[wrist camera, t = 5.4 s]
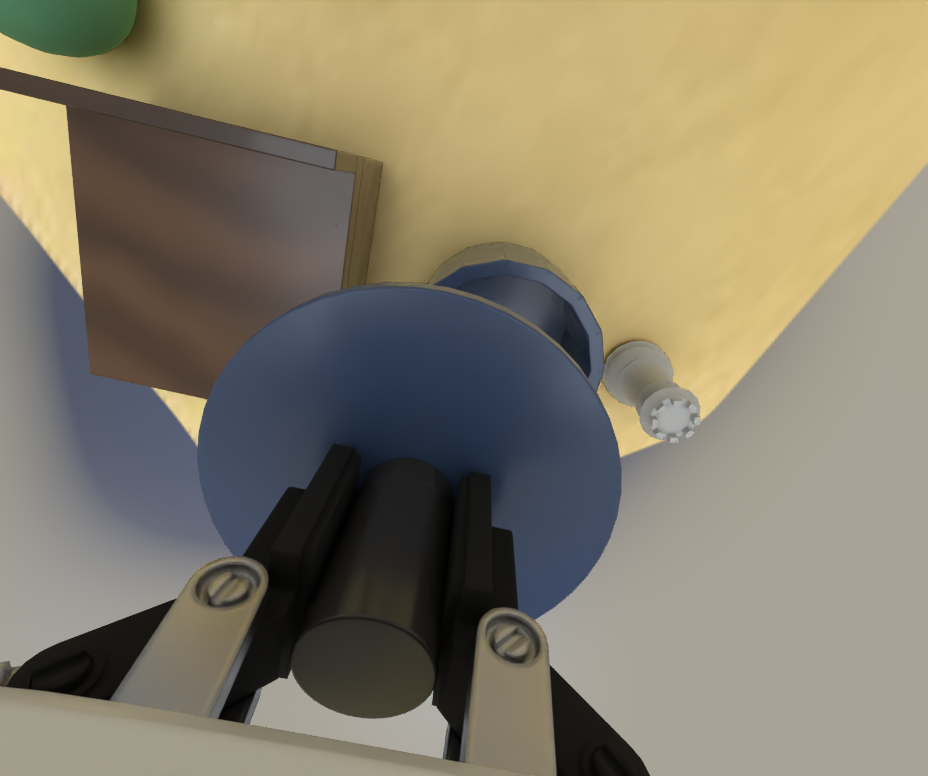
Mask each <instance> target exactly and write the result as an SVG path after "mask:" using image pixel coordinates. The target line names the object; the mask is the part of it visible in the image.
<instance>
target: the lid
mask: <svg viewBox="0 0 928 776" xmlns="http://www.w3.org/2000/svg"><path fill="white" fill-rule="evenodd" d="M333 444H340V445H345V446H350V447H354V448H355V453H356V454H361V455H362V459H361V466H360V473H359V480H358V487H357V494H356V496H355V499H354V501H353V503H352V506H351V508H350V510H349V513H348V515H347V517H346V520H345V522H344V524H343V527H342V529H341V532H340V534H339V536H338V539H337V541H336V543H335V546H334V548H333V550H332V553H331V555H330V558H329V560H328V562H327V565H326V567H325V569H324V572H323V574H322V576H321V579H320V581H319V583H318V586H317V588H316V591H315V593H314V595H313V598H312V600H311V602H310V605H309V607H308V609H307V612H306V614H305V616H304V619H303V621H302V624H301V626H300V628H299V631H298V633H297V635H296V638H295V640H294V643H293V645H292V647H291V653H290V665H291V670H292V673H293V676H294V678H295V679H296V681H297V683H298V684H299V686H300V687H301V688H302V689H303V690H304V692H305V693H306V694H307V695H308V696H310V697H311V698H312V699H313V700H315V701H316V702H318V703H320V704H321V705H323V706H325V707H327V708H329V709H331V710H333V711H336V712H339V713H341V714H345V715H349V716H353V717H360V718H373V719H376V718H388V717H394V716H398V715H401V714H404V713H407V712H409V711H411V710H413V709H415V708H416V707H418V706H419V705H421V704H422V703H423V702H424V701H425V700H426V699H427V698H428V697H429V696H430V694H431V693H432V691H433V690H434V688H435V685H436V683H437V679H438V672H439V662H440V651H441V641H442V630H441V626H442V616H443V606H444V597H445V587H446V577H447V568H448V558H449V548H450V539H451V529H452V519H453V509H454V503H455V499H456V495H457V491H458V487H459V483H460V479H461V475H465V476H469V474H470V471H473V472H478V473H483V474H488V475H491V510H492V526H493V527H498V528H503V529H508V530H511V531H512V534H513V544H514V557H515V570H516V584H517V597H518V610H519V611H522V612H524V613H526V614H527V615H529V616H530V617H532V618H533V619H534V620H535V619H537V618H538V617H540V616H541V615H543V614H545V613H546V612H548V611H549V610H551V609H552V608H554V607H555V606H556V605H558V604H559V603H560V602H561V601H563V600H564V599H565V598H566V597H567V596H569V595H570V594H571V593H572V592H573V591H574V590H575V589H576V587H578V586H579V584H580V583H581V582H582V581H583V580H584V579H585V578H586V577H587V576H588V574H589V573H590V571H591V570H592V568H593V567H594V566H595V564H596V563H597V561H598V560H599V558H600V557H601V554H602V553H603V551H604V549H605V547H606V545H607V543H608V541H609V539H610V536H611V533H612V530H613V527H614V524H615V521H616V518H617V515H618V509H619V503H620V496H621V463H620V455H619V449H618V443H617V440H616V437H615V433H614V430H613V427H612V424H611V421H610V418H609V416H608V414H607V412H606V410H605V408H604V406H603V404H602V402H601V400H600V398H599V396H598V394H597V392H596V390H595V388H594V387H593V385H592V384H591V382H590V381H589V380H588V378H587V377H586V375H585V374H584V372H583V371H582V370H581V368H580V367H579V365H578V364H577V363H576V362H575V361H574V360H573V359H572V358H571V356H570V355H569V354H568V353H567V352H566V351H565V350H564V349H563V348H562V347H561V346H560V345H559V344H558V343H557V342H556V341H555V340H553V339H552V338H551V337H550V336H548V335H547V334H546V333H545V332H543V331H542V330H541V329H540V328H538V327H537V326H536V325H535V324H533V323H531V322H530V321H528V320H526V319H525V318H523V317H521V316H520V315H518V314H516V313H515V312H513V311H511V310H510V309H508V308H506V307H503V306H501V305H499V304H496V303H494V302H492V301H490V300H487V299H485V298H483V297H480V296H477V295H474V294H470V293H467V292H463V291H460V290H456V289H453V288H449V287H443V286H436V285H430V284H423V283H406V282H383V283H374V284H366V285H357V286H352V287H348V288H344V289H341V290H337V291H333V292H329V293H325V294H323V295H321V296H318V297H316V298H313V299H311V300H309V301H306V302H304V303H301V304H299V305H297V306H296V307H294V308H292V309H291V310H289V311H287V312H286V313H284V314H282V315H281V316H279V317H277V318H276V319H274V320H272V321H271V322H269V323H268V324H266V325H265V326H264V327H262V328H261V329H260V330H259V331H258V332H256V333H255V334H254V335H253V336H252V337H251V338H249V339H248V340H247V341H246V342H245V343H244V344H243V345H242V346H241V347H240V348H239V350H238V351H237V352H236V353H235V354H234V355H233V356H232V358H231V359H230V360H229V361H228V362H227V364H226V365H225V367H224V369H223V370H222V372H221V374H220V375H219V377H218V378H217V380H216V382H215V383H214V385H213V388H212V390H211V393H210V395H209V398H208V400H207V402H206V405H205V407H204V412H203V416H202V420H201V425H200V429H199V437H198V453H197V458H198V469H199V479H200V484H201V487H202V492H203V496H204V500H205V503H206V506H207V508H208V511H209V513H210V516H211V518H212V521H213V523H214V525H215V527H216V529H217V531H218V532H219V534H220V536H221V538H222V540H223V541H224V543H225V545H226V546H227V547H228V549H229V550H230V552H231V553H232V554H233V556H243V554H244V553H245V551H246V550H247V548H248V547H249V545H250V544H251V542H252V541H253V539H254V538H255V536H256V535H257V533H258V532H259V530H260V529H261V527H262V526H263V524H264V523H265V521H266V520H267V518H268V517H269V515H270V513H271V512H272V510H273V509H274V507H275V506H276V504H277V503H278V501H279V500H280V498H281V497H282V495H283V494H284V492H285V491H286V490H287V489H288V487H296V488H301V489H306V488H307V487H308V485H309V483H310V482H311V480H312V478H313V477H314V475H315V473H316V472H317V470H318V468H319V467H320V465H321V463H322V462H323V460H324V458H325V457H326V455H327V453H328V452H329V450H330V448H331V447H332V445H333Z"/></svg>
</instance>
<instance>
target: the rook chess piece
mask: <svg viewBox="0 0 928 776" xmlns="http://www.w3.org/2000/svg"><path fill="white" fill-rule="evenodd" d="M672 379H673V368H672V365H671V363H670V360H669V358H668V357H667V356H666V354H665V353H664V352H663V351H662V350H661V349H660V348H659V347H658V346H657V345H655V344H652V343H649V342H646V341H633V342H629V343H626V344H624V345H622V346H620V347H618V348H617V349H616V350H615V351H614V352H613V353H612V354H610V355H609V356H608V358H607V361H606V363H605V365H604V373H603V382H604V384H605V387H606V389H607V391H608V392H609V393H610V394H611V395H612V396H613V397H614V398H615V399H616V400H617V401H619V402H620V403H622V404H625V405H628V406H631V407H636V410H637V412H638V415H639V416H640V423H641V426H642V428H643V430H644V431H645V432H646V433H647V434H648V435H650V436H651V437H654V438H657V439H660V440H668V441H669V443H671V442H678V437H681V436H683V435H685V436H686V437H687V438H689V437H690V436H691V435H693V434H694V433H695V432H694V431H693V430H692V428H693V427H694V426H695V424H696V425H699V424H700V416H699V414H700V405H699V402H698V400H697V397H696V396H694V395H693V394H692V393H691V392H690V391H689V390H686V389H683V388H681V387H680V386H678V385H677V384H676V383H673V382H672Z"/></svg>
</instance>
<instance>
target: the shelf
mask: <svg viewBox="0 0 928 776" xmlns="http://www.w3.org/2000/svg"><path fill="white" fill-rule="evenodd" d="M0 89H1V90H5V91H9V92H13V93H18V94H22V95H26V96H30V97H34V98H38V99H42V100H46V101H50V102H54V103H59V104H63V105H66V109H67V120H68V131H69V142H70V153H71V164H72V175H73V187H74V198H75V209H76V220H77V231H78V242H79V253H80V264H81V275H82V286H83V297H84V307H85V319H86V330H87V339H88V340H87V341H88V352H89V363H90V373H91V374H94V375H99V376H103V377H108V378H113V379H117V380H121V381H126V382H131V383H136V384H140V385H145V386H149V387H154V388H158V389H163V390H167V391H172V392H176V393H181V394H186V395H190V396H195V397H199V398H204V399H208V398H209V395H210V393H211V390H212V388H213V385H214V383H215V382H216V380H217V378H218V377H219V375H220V374H221V372H222V370H223V369H224V367H225V365H226V364H227V362H228V361H229V360H230V359H231V358H232V356H233V355H234V354H235V353H236V352H237V351H238V350H239V348H240V347H241V346H242V345H243V344H244V343H245V342H246V341H247V340H248V339H249V338H251V337H252V336H253V335H254V334H255V333H256V332H258V331H259V330H260V329H261V328H262V327H264V326H265V325H266V324H268V323H269V322H271V321H272V320H274V319H276V318H277V317H279V316H281V315H282V314H284V313H286V312H287V311H289V310H291V309H292V308H294V307H296V306H297V305H299V304H301V303H304V302H306V301H309V300H311V299H313V298H316V297H318V296H321V295H323V294H325V293H329V292H333V291H337V290H341V289H344V288H348V287H352V286H357V285H365V282H366V275H367V268H368V261H369V254H370V247H371V240H372V233H373V226H374V219H375V212H376V205H377V198H378V191H379V184H380V177H381V170H382V162H380V161H377V160H373V159H369V158H365V157H361V156H357V155H353V154H350V153H346V152H342V151H338V150H334V149H330V148H326V147H322V146H318V145H314V144H310V143H306V142H301V141H297V140H293V139H289V138H285V137H281V136H277V135H273V134H269V133H265V132H261V131H257V130H253V129H249V128H245V127H241V126H236V125H232V124H228V123H224V122H220V121H216V120H212V119H208V118H204V117H200V116H196V115H192V114H188V113H184V112H180V111H175V110H171V109H167V108H163V107H159V106H155V105H151V104H147V103H143V102H139V101H135V100H131V99H127V98H123V97H119V96H115V95H110V94H106V93H102V92H98V91H94V90H90V89H86V88H82V87H78V86H74V85H70V84H66V83H62V82H58V81H54V80H49V79H45V78H41V77H37V76H33V75H29V74H25V73H21V72H17V71H13V70H9V69H5V68H1V67H0Z"/></svg>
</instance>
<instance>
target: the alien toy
mask: <svg viewBox="0 0 928 776" xmlns="http://www.w3.org/2000/svg"><path fill="white" fill-rule="evenodd" d="M136 10H137V0H0V32H1V33H2V34H4V35H6V36H8V37H10V38H12V39H14V40H16V41H18V42H21V43H23V44H25V45H28V46H30V47H32V48H35V49H37V50H40V51H43V52H47V53H51V54H56V55H63V56H70V57H89V56H95V55H100V54H104V53H107V52H109V51H110V50H112V49H114V48H115V47H117V46H119V45H120V44H121V43H122V42H123V41H124V40H125V39H126V37H127V36H128V35H129V34H130V32H131V29H132V27H133V24H134V22H135V19H136Z"/></svg>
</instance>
